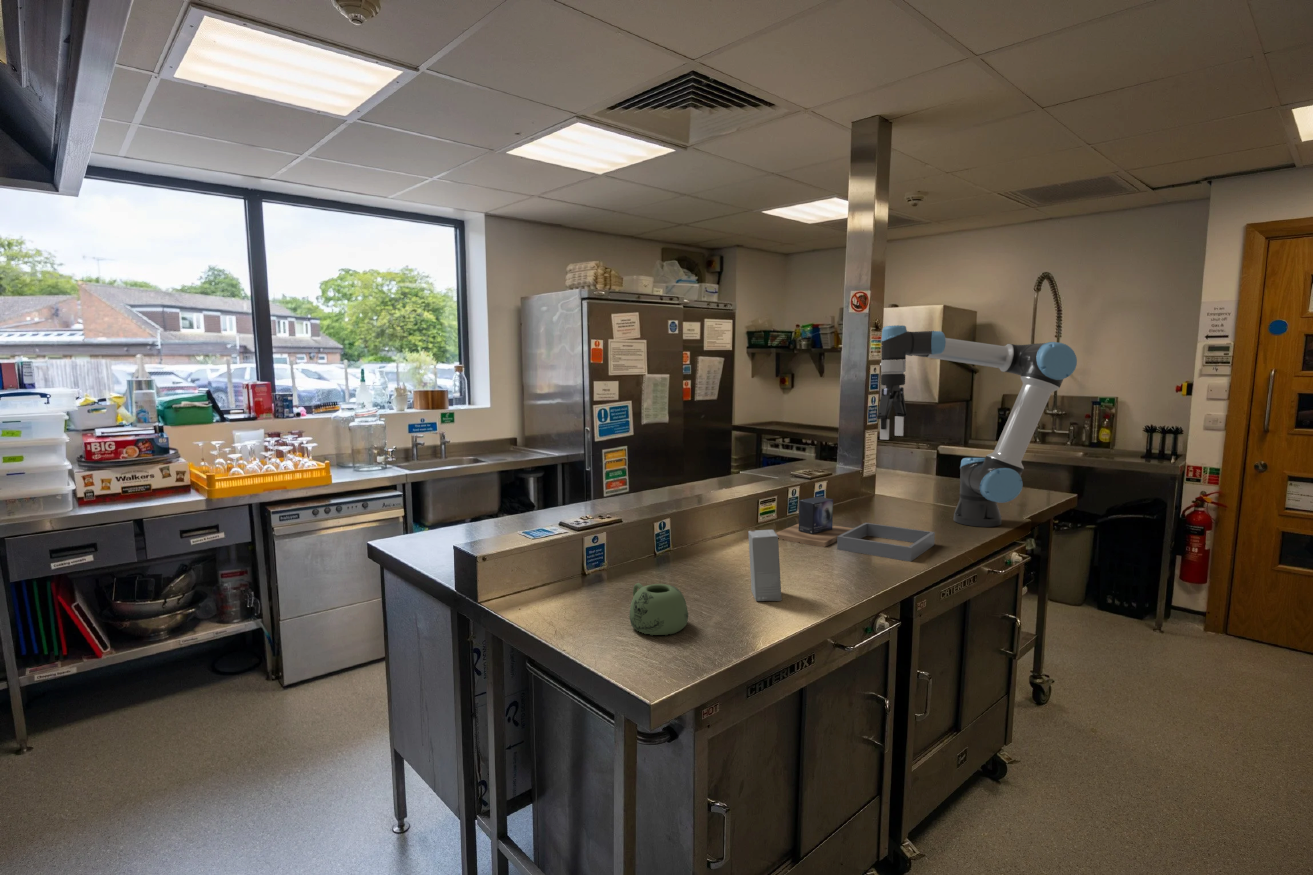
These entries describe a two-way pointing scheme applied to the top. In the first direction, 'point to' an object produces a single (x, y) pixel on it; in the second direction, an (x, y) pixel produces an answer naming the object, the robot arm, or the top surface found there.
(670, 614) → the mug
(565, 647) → the top surface
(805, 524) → the small box
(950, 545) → the top surface
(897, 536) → the bin
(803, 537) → the walnut board
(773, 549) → the skincare box
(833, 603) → the top surface
